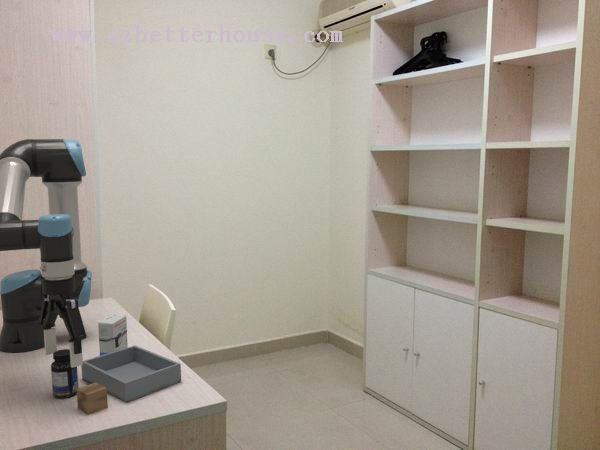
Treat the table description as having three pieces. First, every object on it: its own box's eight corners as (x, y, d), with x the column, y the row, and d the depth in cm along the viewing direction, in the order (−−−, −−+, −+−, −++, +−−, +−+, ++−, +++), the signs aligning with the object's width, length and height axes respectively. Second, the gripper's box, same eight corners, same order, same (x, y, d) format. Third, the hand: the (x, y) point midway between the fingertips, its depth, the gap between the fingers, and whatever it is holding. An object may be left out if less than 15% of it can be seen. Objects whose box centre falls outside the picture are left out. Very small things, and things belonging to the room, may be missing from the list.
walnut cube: (77, 408, 136) (76, 388, 135) (97, 401, 140) (96, 382, 139) (88, 415, 133) (87, 394, 132) (107, 407, 136) (106, 387, 136)
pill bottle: (71, 386, 148) (68, 346, 147) (83, 392, 144) (81, 351, 143) (48, 394, 143) (45, 352, 142) (60, 401, 140) (57, 358, 138)
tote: (82, 379, 153) (81, 361, 152) (135, 361, 165) (135, 345, 164) (126, 402, 138) (125, 383, 138) (181, 381, 151) (180, 363, 150)
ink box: (114, 362, 165) (112, 323, 163) (99, 361, 166) (97, 322, 164) (129, 351, 173) (127, 314, 171) (114, 350, 174) (112, 313, 172)
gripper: (21, 272, 145) (26, 352, 148) (68, 286, 129) (73, 376, 131) (50, 268, 151) (55, 345, 153) (98, 281, 134) (103, 366, 137)
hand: (63, 359), depth 142 cm, fingers open, 13 cm apart
